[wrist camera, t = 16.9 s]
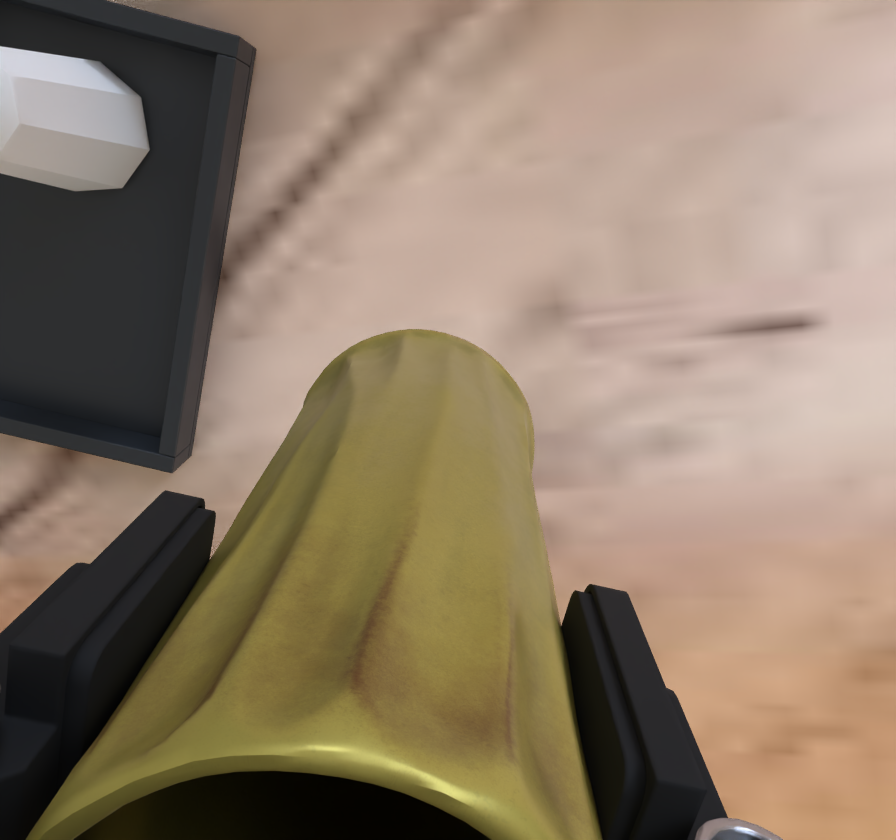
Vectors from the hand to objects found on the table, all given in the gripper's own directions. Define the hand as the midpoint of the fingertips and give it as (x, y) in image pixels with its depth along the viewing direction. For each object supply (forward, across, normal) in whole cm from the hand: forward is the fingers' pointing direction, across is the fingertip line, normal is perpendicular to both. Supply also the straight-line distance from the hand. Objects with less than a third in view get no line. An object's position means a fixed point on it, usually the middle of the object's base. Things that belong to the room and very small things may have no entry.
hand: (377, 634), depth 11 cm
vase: (+9, 0, 0) cm, 9 cm away
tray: (+25, +16, -1) cm, 30 cm away
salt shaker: (+24, +16, -5) cm, 30 cm away
